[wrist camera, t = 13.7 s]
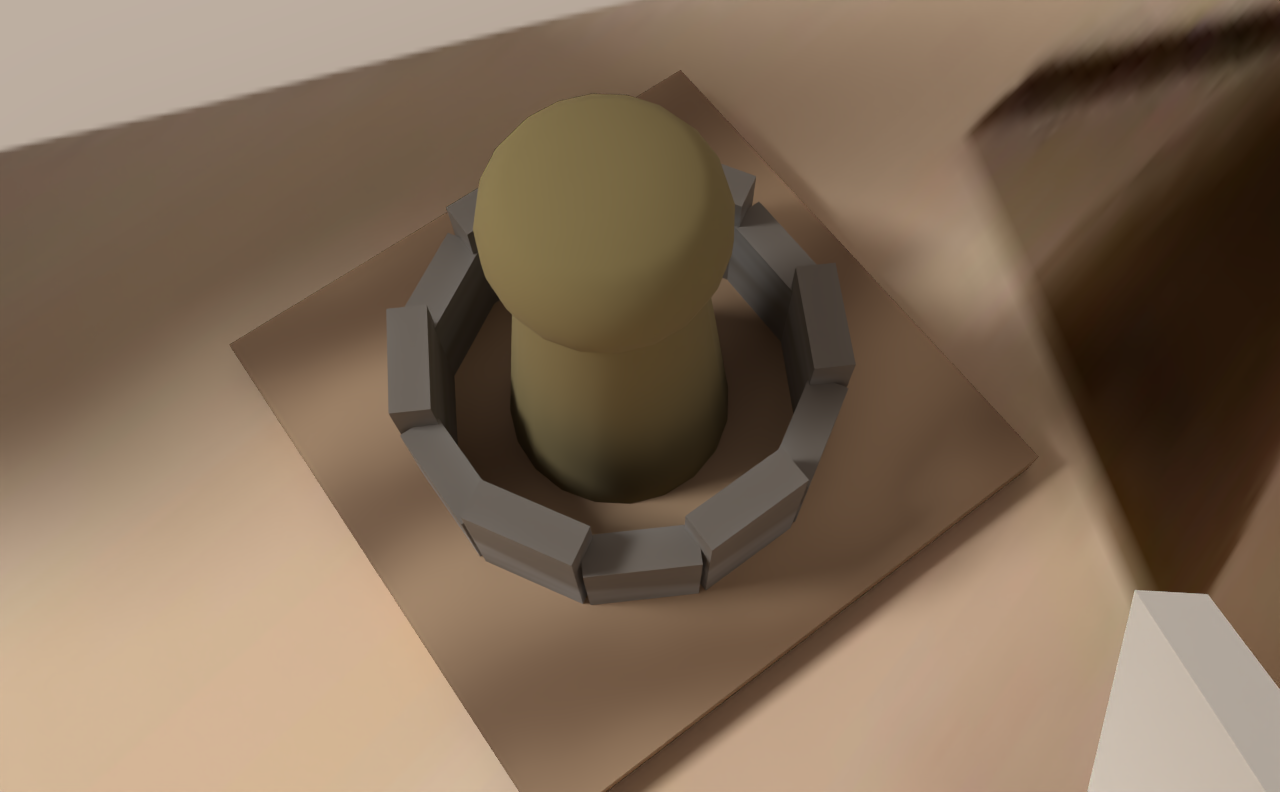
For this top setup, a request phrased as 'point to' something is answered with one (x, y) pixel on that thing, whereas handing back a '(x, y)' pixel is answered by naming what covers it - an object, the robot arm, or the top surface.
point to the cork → (610, 292)
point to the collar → (642, 531)
